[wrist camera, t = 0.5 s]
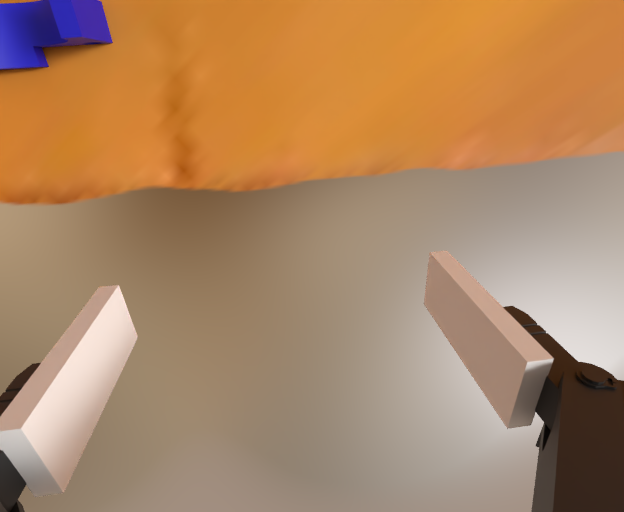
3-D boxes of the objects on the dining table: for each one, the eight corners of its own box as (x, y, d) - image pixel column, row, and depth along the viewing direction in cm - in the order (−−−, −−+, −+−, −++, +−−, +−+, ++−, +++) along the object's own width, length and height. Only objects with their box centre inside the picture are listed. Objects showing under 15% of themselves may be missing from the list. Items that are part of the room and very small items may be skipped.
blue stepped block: (-21, 71, 32) (-80, 70, 26) (-48, 10, 30) (-117, -4, 24) (118, 62, 33) (89, 59, 27) (102, 2, 31) (67, -13, 25)
